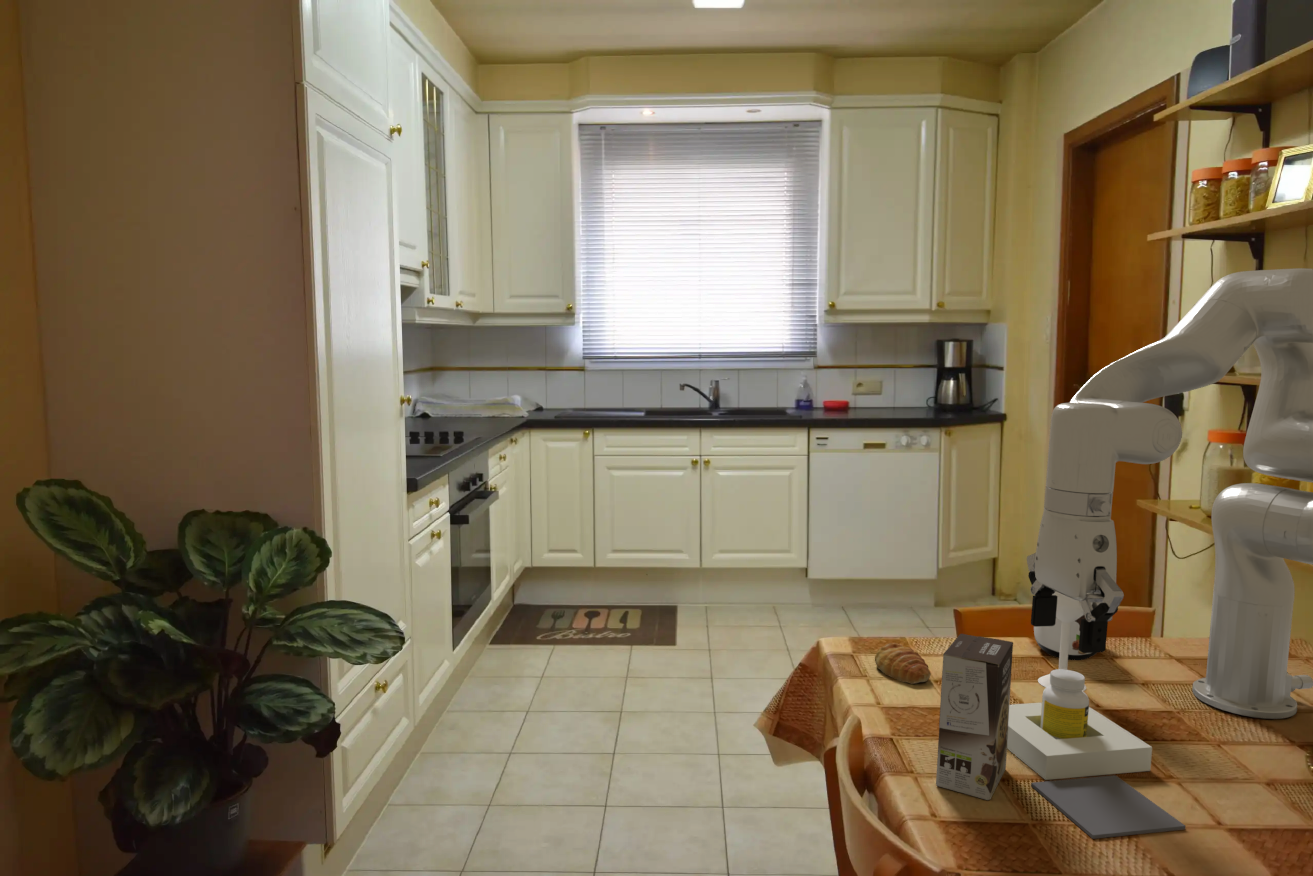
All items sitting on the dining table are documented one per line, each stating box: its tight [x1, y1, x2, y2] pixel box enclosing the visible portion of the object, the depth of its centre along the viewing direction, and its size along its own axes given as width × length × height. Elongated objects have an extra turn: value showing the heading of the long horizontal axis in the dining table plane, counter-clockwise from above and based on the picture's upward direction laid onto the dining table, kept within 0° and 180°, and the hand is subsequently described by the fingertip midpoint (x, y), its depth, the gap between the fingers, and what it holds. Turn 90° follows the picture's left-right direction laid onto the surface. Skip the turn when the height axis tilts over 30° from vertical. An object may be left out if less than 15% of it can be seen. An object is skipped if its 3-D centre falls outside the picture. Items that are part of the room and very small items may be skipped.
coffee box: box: [935, 633, 1014, 801], centre depth 105 cm, size 9×6×16 cm
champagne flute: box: [1037, 591, 1092, 692], centre depth 133 cm, size 7×7×24 cm
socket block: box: [1007, 701, 1153, 781], centre depth 113 cm, size 14×14×3 cm
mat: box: [1030, 774, 1186, 840], centre depth 99 cm, size 11×11×1 cm
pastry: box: [874, 642, 932, 685], centre depth 138 cm, size 9×7×4 cm
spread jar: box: [1033, 602, 1097, 661], centre depth 148 cm, size 12×11×12 cm
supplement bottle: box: [1040, 668, 1090, 739], centre depth 113 cm, size 5×5×10 cm
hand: (1066, 638), depth 111 cm, fingers open, 9 cm apart
